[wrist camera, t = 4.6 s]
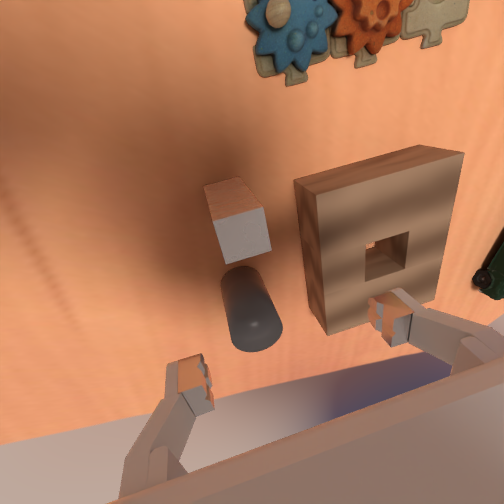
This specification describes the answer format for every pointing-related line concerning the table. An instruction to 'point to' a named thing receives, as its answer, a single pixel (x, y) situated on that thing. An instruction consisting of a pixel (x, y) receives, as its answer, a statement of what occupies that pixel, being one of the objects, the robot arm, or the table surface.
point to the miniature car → (492, 277)
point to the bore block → (375, 230)
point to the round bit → (249, 310)
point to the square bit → (237, 220)
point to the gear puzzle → (341, 30)
